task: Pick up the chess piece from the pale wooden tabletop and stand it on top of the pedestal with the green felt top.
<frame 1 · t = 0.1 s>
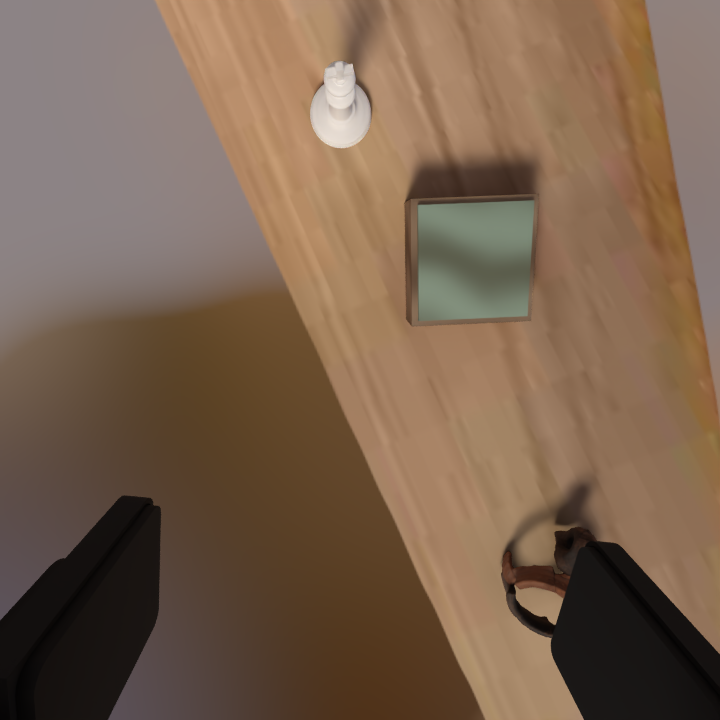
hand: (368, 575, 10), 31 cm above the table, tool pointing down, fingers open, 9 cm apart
brown curved open ring: (545, 552, 47), on the table
chess piece: (340, 115, 35), on the table
pedestal: (461, 260, 38), on the table
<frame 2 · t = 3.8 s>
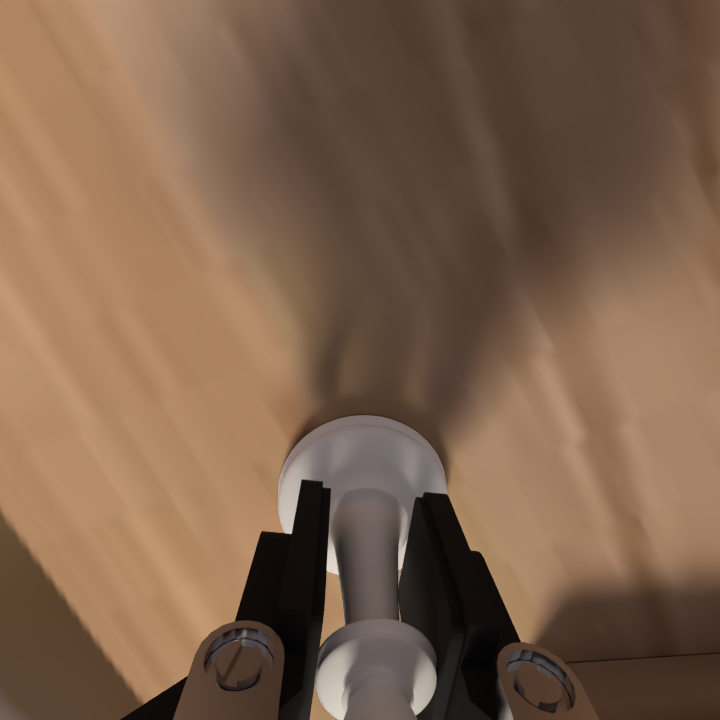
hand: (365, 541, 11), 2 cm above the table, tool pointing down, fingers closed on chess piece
chess piece: (362, 488, 13), on the table, touching gripper
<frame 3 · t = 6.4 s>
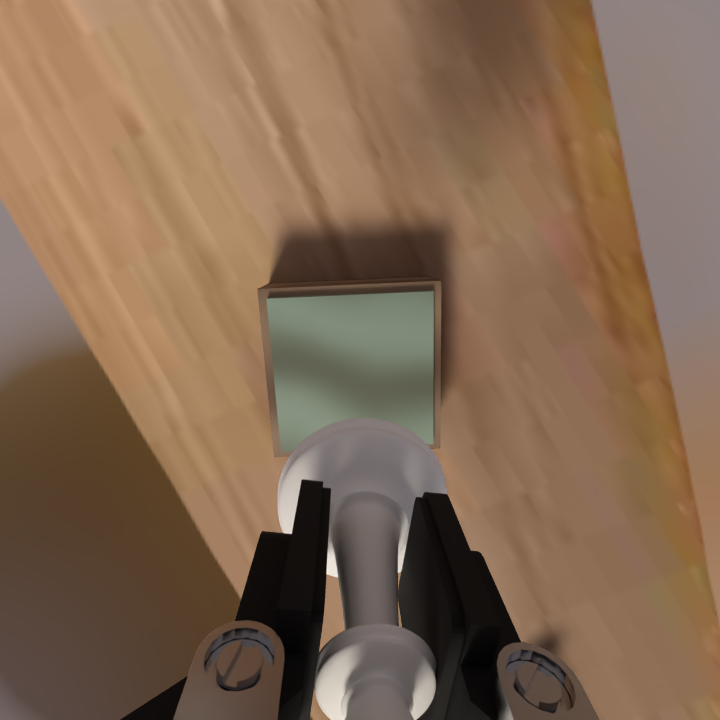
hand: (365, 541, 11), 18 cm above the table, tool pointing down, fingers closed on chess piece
chess piece: (362, 491, 13), point 16 cm above the table, touching gripper
pedestal: (352, 357, 28), on the table
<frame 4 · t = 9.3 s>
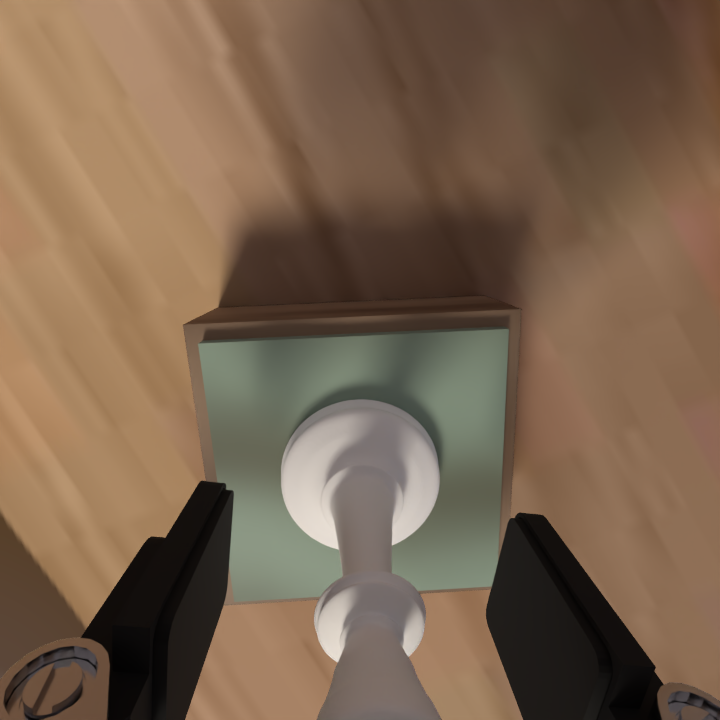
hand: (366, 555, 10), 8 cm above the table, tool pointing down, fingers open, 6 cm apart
chess piece: (359, 469, 14), point 4 cm above the table, touching pedestal
pedestal: (357, 425, 18), on the table
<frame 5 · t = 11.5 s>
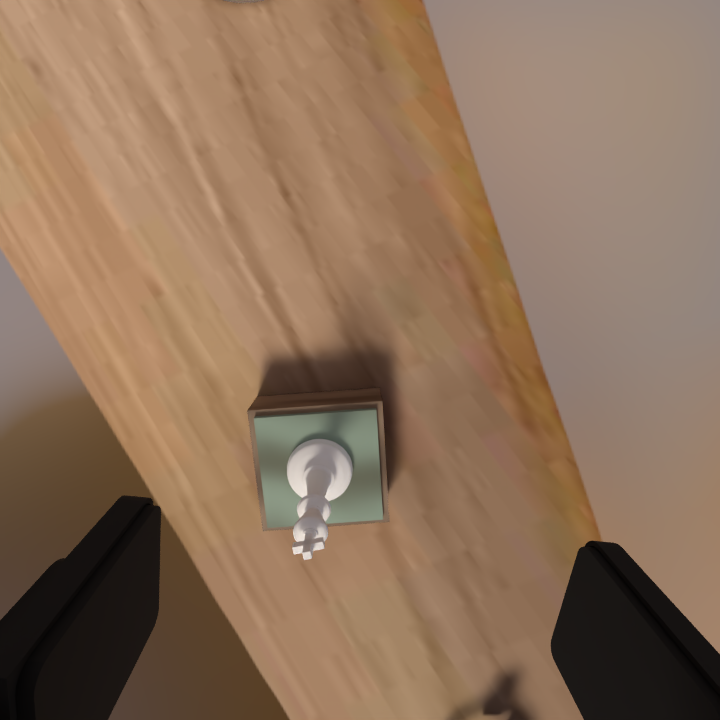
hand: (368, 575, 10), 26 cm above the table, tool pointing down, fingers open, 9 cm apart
chess piece: (320, 467, 33), point 4 cm above the table, touching pedestal
pedestal: (323, 448, 37), on the table
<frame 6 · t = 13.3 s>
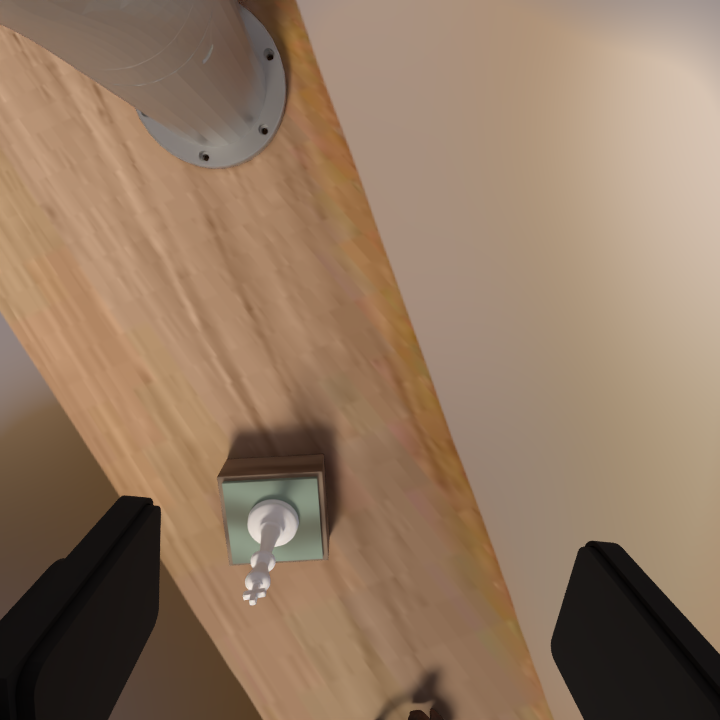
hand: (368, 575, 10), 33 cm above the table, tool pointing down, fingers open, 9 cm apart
chess piece: (273, 520, 43), point 4 cm above the table, touching pedestal
pedestal: (279, 499, 46), on the table
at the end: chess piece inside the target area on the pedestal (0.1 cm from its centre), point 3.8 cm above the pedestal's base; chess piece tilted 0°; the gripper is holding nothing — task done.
